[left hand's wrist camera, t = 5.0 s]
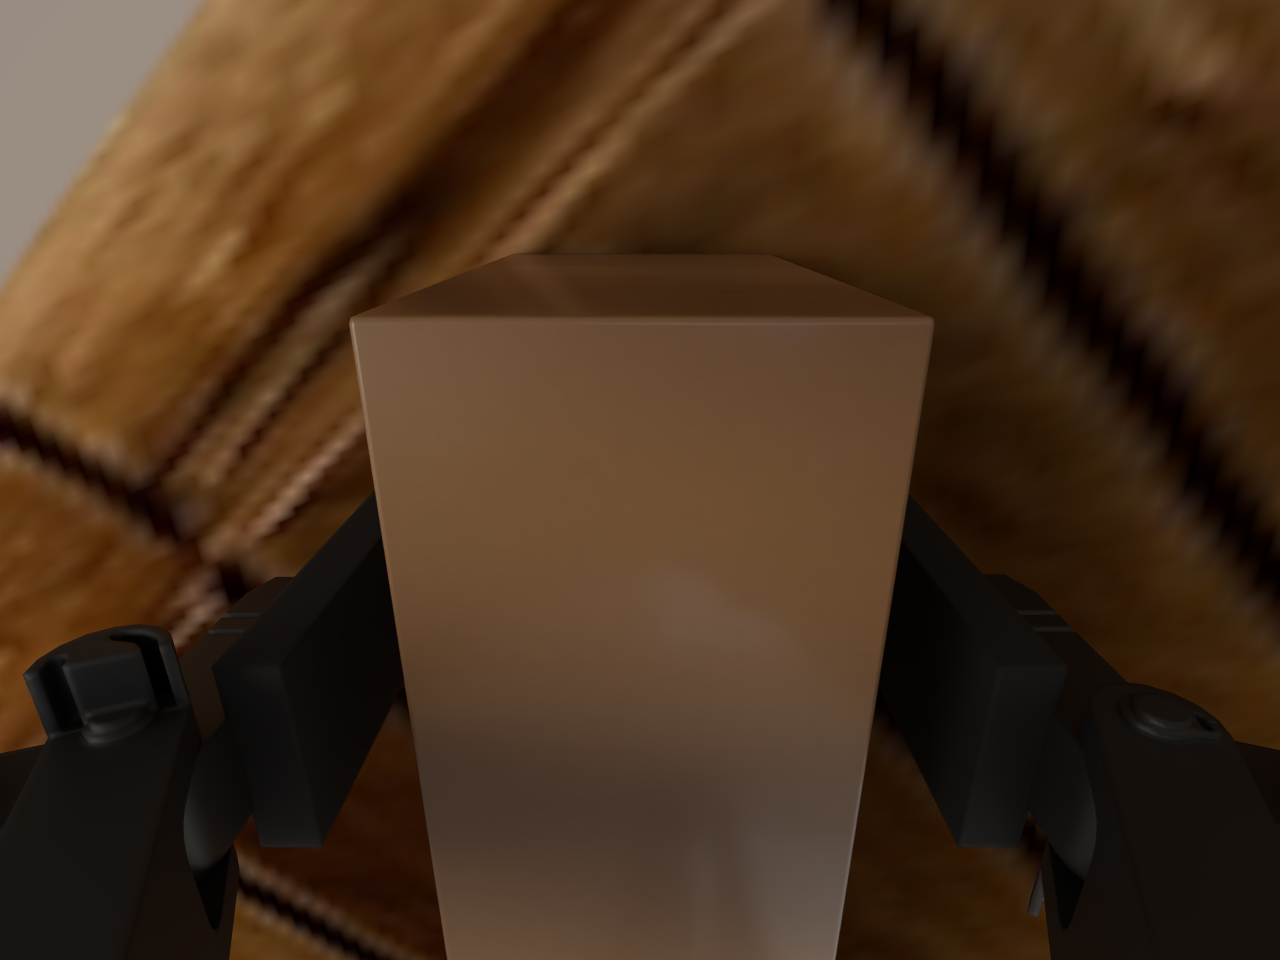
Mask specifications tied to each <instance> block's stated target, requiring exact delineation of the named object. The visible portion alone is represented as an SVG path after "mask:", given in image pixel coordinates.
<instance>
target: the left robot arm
mask: <svg viewBox="0 0 1280 960" xmlns="http://www.w3.org/2000/svg"><path fill="white" fill-rule="evenodd" d="M23 677H24V679H25V682H26V684H27V687H28V689H29V691H30V694H31V696H32V699H33V701H34V704H35V706H36V709H37V711H38V714H39V716H40V719H41V721H42V724H43V726H44V729H45V731H46V734H47V736H48V739H47V741H46V743H45V744H44V745H39V746H34V747H29V748H24V749H20V750H15V751H10V752H5V753H0V960H229V956H230V947H231V939H232V930H233V922H234V913H235V905H236V896H237V888H238V879H239V871H240V870H239V864H238V858H237V854H236V850H235V847H234V844H233V842H234V840H235V839H236V837H237V835H238V834H239V832H240V831H241V829H242V828H243V826H244V824H245V823H246V821H247V820H248V818H249V817H250V815H251V813H252V814H253V818H254V822H255V825H256V829H257V832H258V836H259V840H260V843H261V847H322V846H323V844H324V842H325V840H326V838H327V836H328V834H329V832H330V830H331V828H332V826H333V824H334V822H335V820H336V818H337V816H338V814H339V812H340V810H341V808H342V806H343V804H344V802H345V799H346V797H347V795H348V793H349V791H350V789H351V787H352V785H353V783H354V781H355V779H356V777H357V775H358V773H359V771H360V769H361V767H362V765H363V763H364V761H365V759H366V757H367V755H368V753H369V751H370V749H371V747H372V745H373V743H374V741H375V739H376V737H377V735H378V733H379V731H380V729H381V727H382V725H383V723H384V721H385V719H386V717H387V715H388V713H389V711H390V709H391V707H392V705H393V702H394V700H395V698H396V696H397V694H398V692H399V690H400V688H401V686H402V684H403V682H404V675H403V669H402V662H401V656H400V649H399V643H398V636H397V630H396V623H395V617H394V610H393V604H392V597H391V591H390V584H389V578H388V571H387V565H386V559H385V552H384V546H383V539H382V533H381V526H380V520H379V513H378V507H377V500H376V494H375V491H374V492H373V493H372V494H371V495H370V496H369V497H368V498H367V499H366V500H365V501H364V503H363V504H362V505H361V506H360V507H359V508H358V509H357V510H356V511H355V512H354V513H353V514H352V515H351V517H350V518H349V519H348V520H347V521H346V522H345V523H344V524H343V525H342V526H341V527H340V528H339V529H338V531H337V532H336V533H335V534H334V535H333V536H332V537H331V538H330V539H329V540H328V541H327V542H326V544H325V545H324V546H323V547H322V548H321V549H320V550H319V551H318V552H317V553H316V554H315V555H314V556H313V558H312V559H311V560H310V561H309V562H308V563H307V564H306V565H305V566H304V567H303V568H302V569H301V570H300V572H299V573H298V574H297V575H296V576H295V577H275V578H273V579H271V580H270V581H268V582H266V583H264V584H263V585H261V586H259V587H257V588H255V589H254V590H252V591H250V592H248V593H247V594H245V595H244V596H243V597H242V598H241V599H240V600H239V601H238V602H237V603H236V604H235V605H234V606H233V607H232V608H231V609H230V610H229V611H228V612H227V613H226V617H225V618H221V619H220V620H219V621H218V622H217V623H216V624H215V625H214V626H213V627H212V628H211V629H210V630H209V634H205V635H204V636H203V637H202V638H201V639H200V640H199V641H198V642H197V643H196V644H195V645H194V646H193V647H192V648H191V649H190V650H189V651H188V652H187V653H186V654H185V655H184V656H183V657H182V658H181V659H180V660H179V659H178V656H177V653H176V649H175V646H174V643H173V639H172V636H171V633H169V632H168V631H166V630H164V629H163V628H161V627H159V626H151V625H142V624H138V625H129V626H119V627H113V628H109V629H106V630H102V631H98V632H94V633H90V634H87V635H85V636H82V637H80V638H77V639H75V640H73V641H70V642H68V643H65V644H63V645H61V646H59V647H57V648H56V649H54V650H52V651H51V652H49V653H47V654H46V655H44V656H43V657H41V658H39V659H38V660H37V661H36V662H35V663H34V664H33V665H32V666H31V667H30V668H29V669H28V670H27V671H26V672H25V673H24V674H23ZM878 686H879V688H880V690H881V692H882V694H883V696H884V698H885V700H886V702H887V704H888V707H889V709H890V711H891V713H892V715H893V717H894V719H895V721H896V723H897V725H898V727H899V729H900V731H901V733H902V735H903V737H904V739H905V741H906V743H907V745H908V747H909V749H910V751H911V753H912V755H913V757H914V759H915V761H916V763H917V765H918V767H919V769H920V771H921V773H922V775H923V777H924V779H925V781H926V783H927V785H928V787H929V789H930V791H931V793H932V795H933V797H934V799H935V801H936V804H937V806H938V808H939V810H940V812H941V814H942V816H943V818H944V820H945V822H946V824H947V826H948V828H949V830H950V832H951V834H952V836H953V838H954V840H955V842H956V844H957V846H958V847H1019V843H1020V840H1021V836H1022V832H1023V829H1024V825H1025V822H1026V818H1027V815H1028V811H1030V813H1031V814H1032V816H1033V818H1034V819H1035V821H1036V822H1037V824H1038V825H1039V827H1040V829H1041V830H1042V832H1043V833H1044V835H1045V836H1046V838H1047V839H1048V840H1047V844H1046V847H1045V850H1044V854H1043V857H1042V860H1041V864H1040V867H1039V870H1038V874H1037V877H1036V880H1035V884H1034V887H1033V890H1032V894H1031V897H1030V901H1029V907H1028V913H1027V914H1029V915H1032V916H1035V917H1038V914H1039V911H1040V908H1041V904H1042V902H1043V901H1044V902H1045V911H1046V919H1047V928H1048V936H1049V945H1050V953H1051V960H1280V750H1276V749H1271V748H1266V747H1262V746H1257V745H1252V744H1247V743H1242V742H1237V741H1234V740H1233V738H1232V736H1231V735H1230V734H1229V732H1228V731H1227V730H1226V729H1225V728H1224V726H1223V725H1222V724H1221V723H1220V721H1219V720H1217V719H1216V718H1215V717H1213V716H1212V715H1210V714H1209V713H1208V712H1206V711H1205V710H1203V709H1202V708H1201V707H1199V706H1198V705H1196V704H1194V703H1192V702H1190V701H1188V700H1186V699H1184V698H1182V697H1179V696H1177V695H1175V694H1173V693H1171V692H1167V691H1164V690H1161V689H1158V688H1154V687H1151V686H1148V685H1143V684H1135V683H1127V682H1126V681H1125V680H1124V679H1123V678H1122V677H1121V676H1120V675H1119V674H1118V673H1117V672H1116V671H1115V670H1114V669H1113V668H1112V667H1111V666H1110V665H1109V664H1108V663H1107V662H1106V661H1105V660H1104V659H1103V658H1102V657H1101V656H1100V655H1099V654H1098V653H1097V652H1096V651H1095V650H1094V649H1093V648H1092V647H1091V646H1090V645H1089V644H1088V643H1087V642H1086V641H1085V640H1084V639H1083V638H1082V637H1080V636H1079V635H1078V634H1077V633H1076V632H1072V630H1071V627H1070V626H1069V625H1068V624H1067V623H1066V622H1065V621H1064V620H1063V619H1062V618H1061V617H1060V616H1059V615H1055V611H1054V610H1053V609H1052V608H1051V607H1050V606H1049V605H1048V604H1047V603H1046V602H1045V601H1044V600H1043V599H1042V598H1041V597H1040V596H1039V595H1038V594H1037V593H1036V592H1035V591H1033V590H1031V589H1029V588H1027V587H1026V586H1024V585H1022V584H1020V583H1019V582H1017V581H1015V580H1013V579H1011V578H1010V577H1008V576H1006V575H983V574H982V573H981V572H980V570H979V569H978V568H977V567H976V566H975V565H974V564H973V563H972V562H971V561H970V560H969V559H968V558H967V556H966V555H965V554H964V553H963V552H962V551H961V550H960V549H959V548H958V547H957V546H956V545H955V543H954V542H953V541H952V540H951V539H950V538H949V537H948V536H947V535H946V534H945V533H944V532H943V531H942V529H941V528H940V527H939V526H938V525H937V524H936V523H935V522H934V521H933V520H932V519H931V518H930V517H929V515H928V514H927V513H926V512H925V511H924V510H923V509H922V508H921V507H920V506H919V505H918V504H917V503H916V501H915V500H914V499H913V498H912V497H911V496H910V495H909V494H908V500H907V506H906V512H905V519H904V525H903V531H902V538H901V544H900V551H899V557H898V563H897V570H896V576H895V582H894V589H893V595H892V602H891V608H890V614H889V621H888V627H887V633H886V640H885V646H884V653H883V659H882V665H881V672H880V678H879V684H878Z"/></svg>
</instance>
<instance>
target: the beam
mask: <svg viewBox="0 0 1280 960" xmlns="http://www.w3.org/2000/svg"><path fill="white" fill-rule="evenodd" d="M349 326H350V332H351V338H352V345H353V351H354V358H355V364H356V371H357V377H358V384H359V390H360V397H361V403H362V410H363V416H364V423H365V429H366V436H367V442H368V449H369V455H370V461H371V468H372V474H373V481H374V487H375V494H376V500H377V507H378V513H379V520H380V526H381V533H382V539H383V546H384V552H385V559H386V565H387V571H388V578H389V584H390V591H391V597H392V604H393V610H394V617H395V623H396V630H397V636H398V643H399V649H400V656H401V662H402V669H403V675H404V681H405V688H406V694H407V701H408V707H409V714H410V720H411V727H412V733H413V740H414V746H415V753H416V759H417V766H418V772H419V779H420V785H421V792H422V798H423V804H424V811H425V817H426V824H427V830H428V837H429V843H430V850H431V856H432V863H433V869H434V876H435V882H436V889H437V895H438V902H439V908H440V914H441V921H442V927H443V934H444V940H445V947H446V953H447V960H835V958H836V952H837V946H838V939H839V933H840V927H841V920H842V914H843V907H844V901H845V895H846V888H847V882H848V876H849V869H850V863H851V856H852V850H853V844H854V837H855V831H856V825H857V818H858V812H859V805H860V799H861V793H862V786H863V780H864V774H865V767H866V761H867V755H868V748H869V742H870V735H871V729H872V723H873V716H874V710H875V704H876V697H877V691H878V684H879V678H880V672H881V665H882V659H883V653H884V646H885V640H886V633H887V627H888V621H889V614H890V608H891V602H892V595H893V589H894V582H895V576H896V570H897V563H898V557H899V551H900V544H901V538H902V531H903V525H904V519H905V512H906V506H907V500H908V493H909V487H910V481H911V474H912V468H913V461H914V455H915V449H916V442H917V436H918V430H919V423H920V417H921V410H922V404H923V398H924V391H925V385H926V379H927V372H928V366H929V359H930V353H931V347H932V340H933V334H934V328H935V322H934V318H933V317H931V316H929V315H926V314H924V313H921V312H919V311H916V310H913V309H911V308H908V307H906V306H903V305H900V304H898V303H895V302H893V301H890V300H887V299H885V298H882V297H880V296H877V295H874V294H872V293H869V292H867V291H864V290H861V289H859V288H856V287H854V286H851V285H848V284H846V283H843V282H841V281H838V280H835V279H833V278H830V277H828V276H825V275H822V274H820V273H817V272H815V271H812V270H809V269H807V268H804V267H802V266H799V265H796V264H794V263H791V262H789V261H786V260H783V259H781V258H778V257H776V256H773V255H770V254H512V255H509V256H507V257H504V258H502V259H499V260H496V261H494V262H491V263H489V264H486V265H484V266H481V267H478V268H476V269H473V270H471V271H468V272H466V273H463V274H460V275H458V276H455V277H453V278H450V279H448V280H445V281H442V282H440V283H437V284H435V285H432V286H430V287H427V288H425V289H422V290H419V291H417V292H414V293H412V294H409V295H407V296H404V297H401V298H399V299H396V300H394V301H391V302H389V303H386V304H383V305H381V306H378V307H376V308H373V309H371V310H368V311H366V312H363V313H360V314H358V315H355V316H353V317H351V319H350V323H349Z"/></svg>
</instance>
